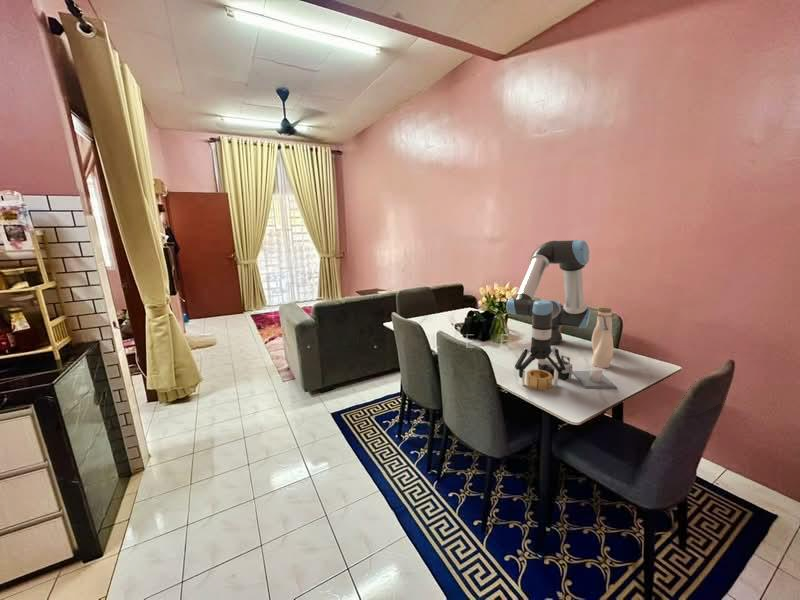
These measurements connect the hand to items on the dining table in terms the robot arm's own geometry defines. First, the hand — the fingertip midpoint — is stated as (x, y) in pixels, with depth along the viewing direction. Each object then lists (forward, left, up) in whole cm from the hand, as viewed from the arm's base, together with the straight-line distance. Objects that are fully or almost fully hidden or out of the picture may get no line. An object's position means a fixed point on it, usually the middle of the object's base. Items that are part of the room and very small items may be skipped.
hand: (538, 384), depth 139 cm
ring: (0, 0, 0) cm, 0 cm away
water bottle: (-22, +35, 0) cm, 41 cm away
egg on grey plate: (-6, +24, 0) cm, 25 cm away
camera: (-11, +10, 0) cm, 15 cm away
